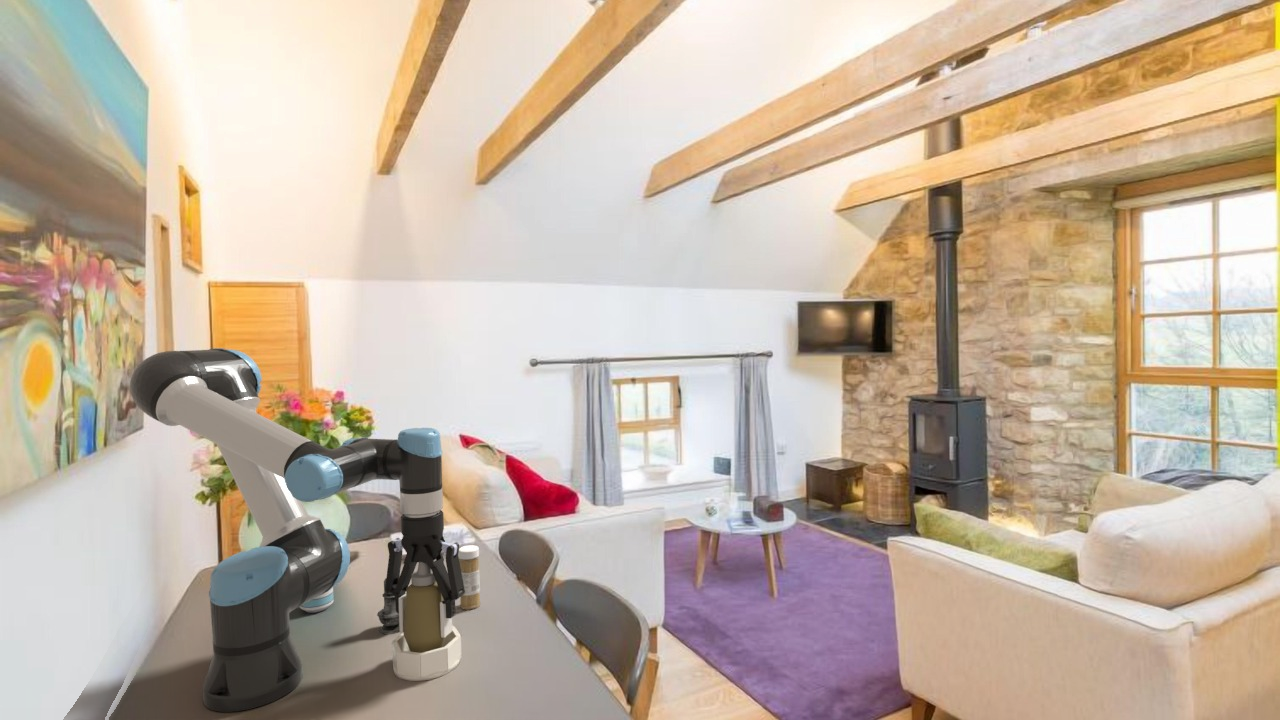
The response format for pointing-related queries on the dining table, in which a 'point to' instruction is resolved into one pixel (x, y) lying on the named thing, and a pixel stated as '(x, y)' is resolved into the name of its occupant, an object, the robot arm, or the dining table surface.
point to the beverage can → (319, 602)
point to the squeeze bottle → (423, 612)
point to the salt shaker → (389, 614)
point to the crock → (426, 658)
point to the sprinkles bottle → (470, 576)
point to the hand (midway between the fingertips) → (426, 631)
